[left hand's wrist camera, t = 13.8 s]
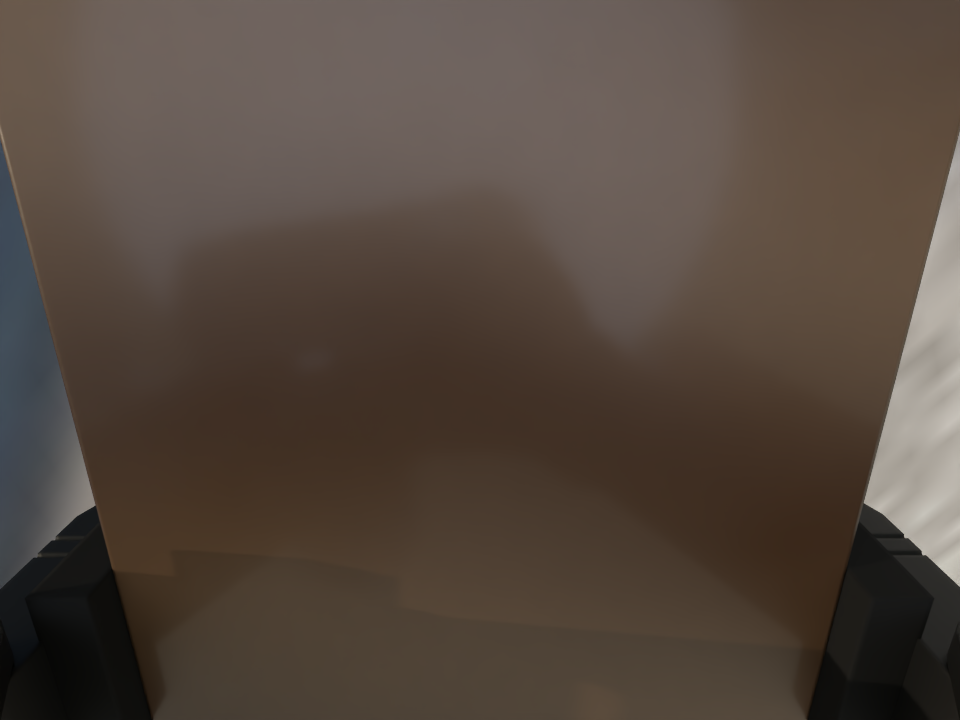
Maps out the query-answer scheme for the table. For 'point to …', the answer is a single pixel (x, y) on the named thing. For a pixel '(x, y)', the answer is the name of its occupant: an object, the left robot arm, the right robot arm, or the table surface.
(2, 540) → the table surface
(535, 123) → the thick board
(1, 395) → the table surface
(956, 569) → the table surface
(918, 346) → the table surface
